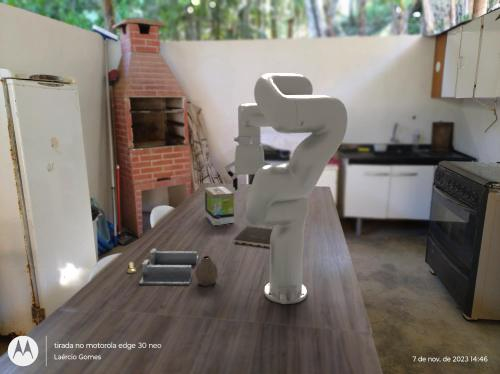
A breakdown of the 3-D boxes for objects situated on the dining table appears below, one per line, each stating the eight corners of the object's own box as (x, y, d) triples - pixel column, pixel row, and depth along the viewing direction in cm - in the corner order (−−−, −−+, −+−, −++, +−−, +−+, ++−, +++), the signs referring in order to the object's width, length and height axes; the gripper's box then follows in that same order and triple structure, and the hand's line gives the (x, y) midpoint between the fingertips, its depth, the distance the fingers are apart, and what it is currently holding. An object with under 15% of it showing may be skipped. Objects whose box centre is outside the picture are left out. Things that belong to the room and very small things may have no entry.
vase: (207, 275, 122) (206, 250, 120) (222, 282, 118) (222, 256, 116) (191, 283, 117) (190, 257, 115) (207, 290, 113) (206, 264, 111)
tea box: (234, 223, 172) (234, 192, 168) (213, 226, 168) (212, 194, 165) (224, 214, 185) (224, 185, 182) (204, 216, 182) (203, 187, 178)
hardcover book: (290, 251, 142) (290, 246, 142) (233, 244, 150) (233, 238, 149) (299, 237, 157) (299, 231, 156) (247, 230, 164) (247, 225, 164)
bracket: (189, 284, 117) (188, 270, 115) (139, 284, 117) (138, 269, 116) (198, 257, 137) (198, 244, 135) (156, 256, 137) (155, 244, 136)
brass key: (136, 273, 125) (136, 270, 125) (127, 274, 124) (127, 272, 124) (135, 263, 132) (135, 261, 131) (127, 265, 131) (126, 262, 131)
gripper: (222, 142, 125) (224, 192, 129) (274, 141, 124) (274, 192, 128) (225, 139, 133) (226, 187, 136) (274, 139, 131) (274, 187, 135)
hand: (250, 189), depth 132 cm, fingers open, 9 cm apart
